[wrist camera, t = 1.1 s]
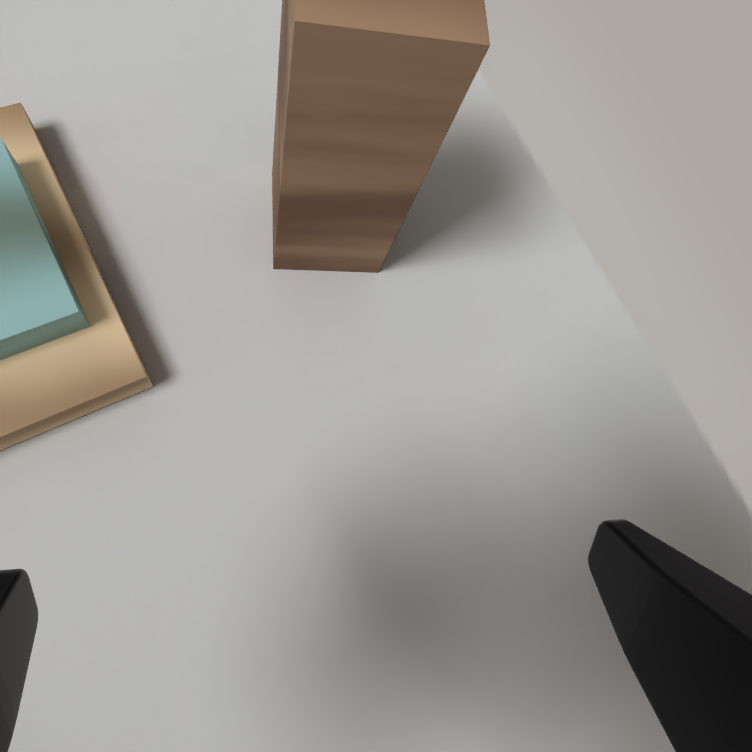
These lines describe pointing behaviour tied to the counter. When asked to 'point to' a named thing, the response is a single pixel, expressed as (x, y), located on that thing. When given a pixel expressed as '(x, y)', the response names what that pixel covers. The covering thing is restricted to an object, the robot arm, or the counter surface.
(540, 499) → the counter surface
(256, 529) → the counter surface
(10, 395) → the plinth
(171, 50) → the counter surface
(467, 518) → the counter surface
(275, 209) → the pillar
